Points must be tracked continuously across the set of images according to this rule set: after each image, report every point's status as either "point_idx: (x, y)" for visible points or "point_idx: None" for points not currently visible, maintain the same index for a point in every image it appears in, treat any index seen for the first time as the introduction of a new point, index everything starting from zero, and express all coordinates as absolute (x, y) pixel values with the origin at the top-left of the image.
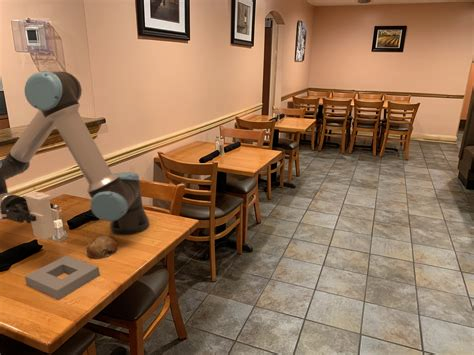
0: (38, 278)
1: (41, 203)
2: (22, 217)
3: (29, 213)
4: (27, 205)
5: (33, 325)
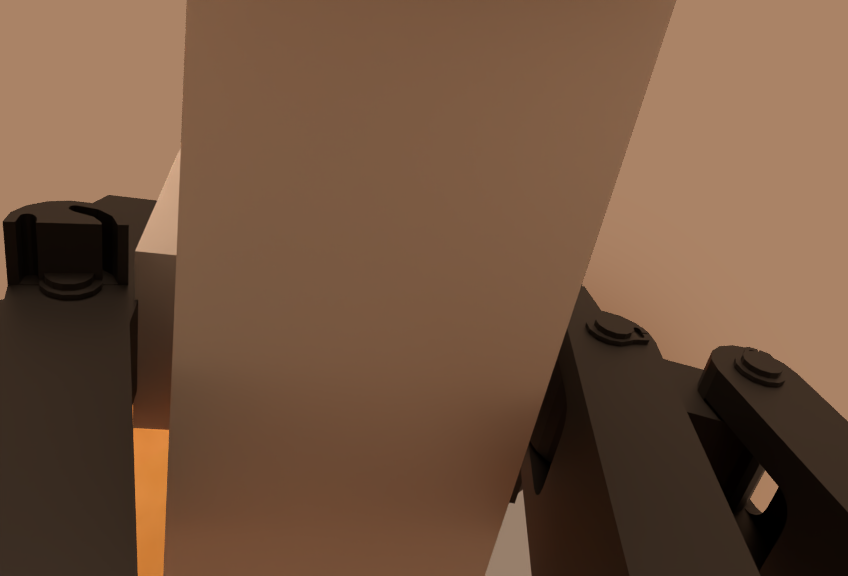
0: (524, 522)
1: None
2: (694, 385)
3: (528, 424)
4: (602, 218)
5: None
